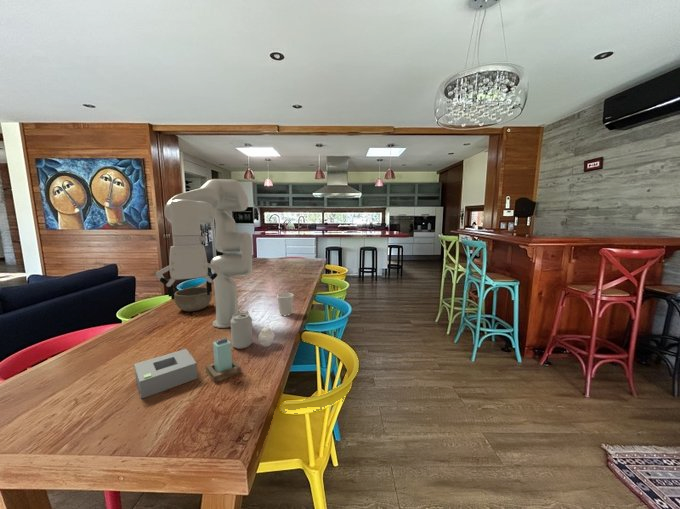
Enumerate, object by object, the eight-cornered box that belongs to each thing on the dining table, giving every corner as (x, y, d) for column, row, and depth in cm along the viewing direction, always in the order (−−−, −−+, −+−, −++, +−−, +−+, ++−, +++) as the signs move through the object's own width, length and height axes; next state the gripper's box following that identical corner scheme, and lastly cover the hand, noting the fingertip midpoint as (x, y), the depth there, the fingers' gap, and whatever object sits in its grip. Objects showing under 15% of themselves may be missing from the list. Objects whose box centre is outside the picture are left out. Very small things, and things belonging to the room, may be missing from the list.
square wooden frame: (231, 362, 91) (231, 357, 91) (241, 372, 85) (240, 366, 85) (206, 371, 86) (205, 365, 86) (214, 383, 80) (214, 376, 80)
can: (256, 342, 106) (255, 312, 105) (244, 351, 99) (242, 319, 98) (240, 339, 109) (239, 310, 107) (227, 347, 102) (225, 317, 100)
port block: (187, 362, 91) (186, 347, 90) (197, 378, 82) (196, 361, 82) (135, 379, 82) (134, 362, 81) (141, 398, 73) (139, 380, 72)
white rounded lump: (276, 346, 103) (276, 328, 102) (260, 350, 100) (260, 332, 99) (272, 339, 108) (271, 323, 107) (256, 343, 105) (255, 326, 104)
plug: (227, 367, 88) (225, 335, 87) (232, 372, 86) (230, 339, 84) (214, 372, 86) (212, 339, 84) (219, 377, 83) (217, 343, 81)
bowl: (202, 314, 136) (201, 295, 135) (167, 314, 137) (165, 295, 135) (218, 303, 153) (217, 286, 152) (187, 303, 154) (185, 286, 152)
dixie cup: (287, 310, 143) (287, 291, 142) (297, 314, 137) (297, 294, 136) (274, 314, 137) (273, 295, 136) (283, 318, 131) (282, 298, 130)
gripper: (217, 239, 89) (220, 290, 91) (154, 241, 81) (158, 297, 83) (219, 241, 83) (222, 295, 85) (151, 243, 74) (156, 303, 76)
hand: (191, 296), depth 84 cm, fingers open, 9 cm apart
